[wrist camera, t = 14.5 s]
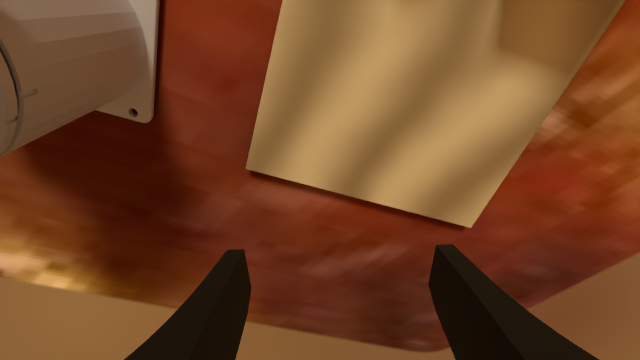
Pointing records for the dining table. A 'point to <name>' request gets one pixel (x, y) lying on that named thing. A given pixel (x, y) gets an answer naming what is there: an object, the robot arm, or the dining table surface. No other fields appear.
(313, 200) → the dining table surface
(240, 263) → the robot arm
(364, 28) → the plywood panel
